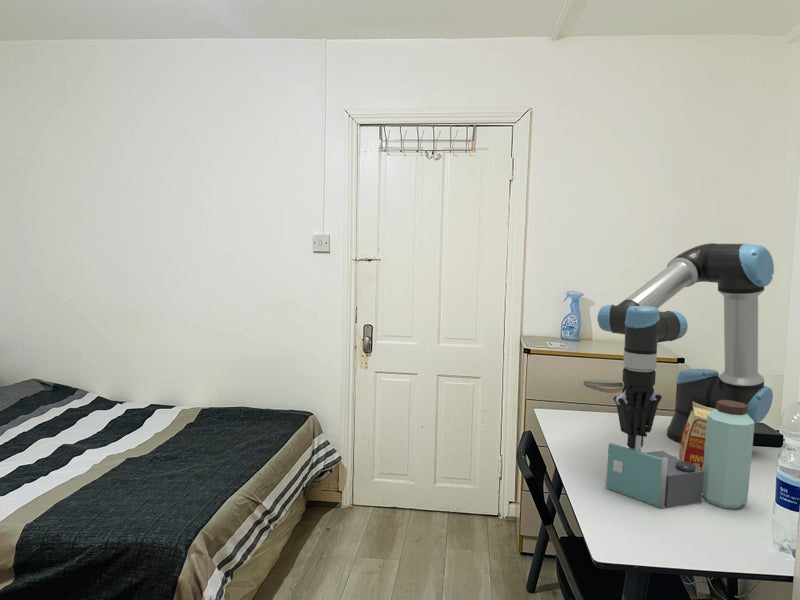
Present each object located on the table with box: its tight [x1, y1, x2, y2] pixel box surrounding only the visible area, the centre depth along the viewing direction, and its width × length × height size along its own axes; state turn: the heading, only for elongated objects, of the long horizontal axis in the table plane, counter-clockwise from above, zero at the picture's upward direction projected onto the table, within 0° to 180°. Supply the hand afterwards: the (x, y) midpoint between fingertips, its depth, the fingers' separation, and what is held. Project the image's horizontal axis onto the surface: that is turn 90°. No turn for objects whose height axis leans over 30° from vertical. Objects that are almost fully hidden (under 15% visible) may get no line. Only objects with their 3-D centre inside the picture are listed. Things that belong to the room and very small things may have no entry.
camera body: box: [642, 450, 704, 508], centre depth 143 cm, size 11×14×9 cm
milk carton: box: [678, 402, 714, 471], centre depth 156 cm, size 9×9×20 cm
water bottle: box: [702, 400, 756, 510], centre depth 138 cm, size 10×10×25 cm
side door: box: [605, 442, 668, 509], centre depth 139 cm, size 15×2×12 cm, turn 42°
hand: (634, 459), depth 141 cm, fingers closed
